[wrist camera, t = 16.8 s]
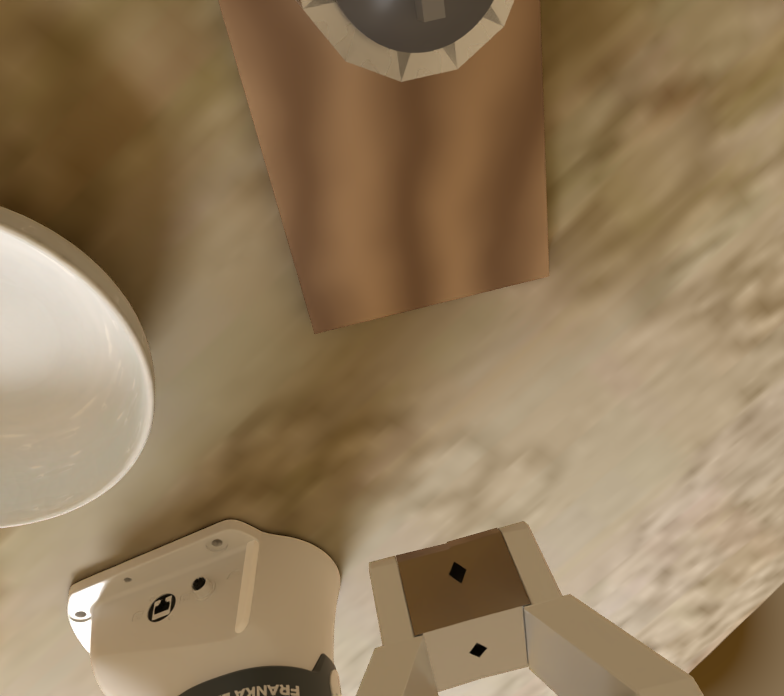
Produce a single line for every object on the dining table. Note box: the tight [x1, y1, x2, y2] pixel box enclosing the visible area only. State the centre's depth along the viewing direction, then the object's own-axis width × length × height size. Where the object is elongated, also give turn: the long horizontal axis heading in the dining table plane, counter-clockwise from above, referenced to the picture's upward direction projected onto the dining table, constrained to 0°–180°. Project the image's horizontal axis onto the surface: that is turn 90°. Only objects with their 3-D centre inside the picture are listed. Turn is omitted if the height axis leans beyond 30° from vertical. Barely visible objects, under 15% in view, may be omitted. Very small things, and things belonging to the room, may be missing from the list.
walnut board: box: [218, 0, 549, 334], centre depth 34 cm, size 16×26×2 cm, turn 10°
